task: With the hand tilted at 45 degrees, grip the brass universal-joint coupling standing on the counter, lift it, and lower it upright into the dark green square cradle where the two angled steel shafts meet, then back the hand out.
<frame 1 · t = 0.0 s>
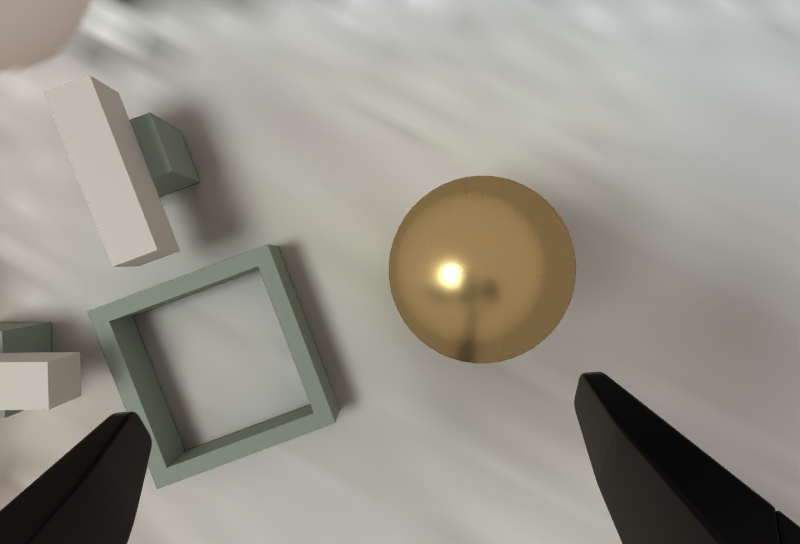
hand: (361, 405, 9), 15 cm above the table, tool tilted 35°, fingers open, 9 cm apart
shaft bench: (227, 358, 24), on the table
coupling: (438, 264, 24), on the table
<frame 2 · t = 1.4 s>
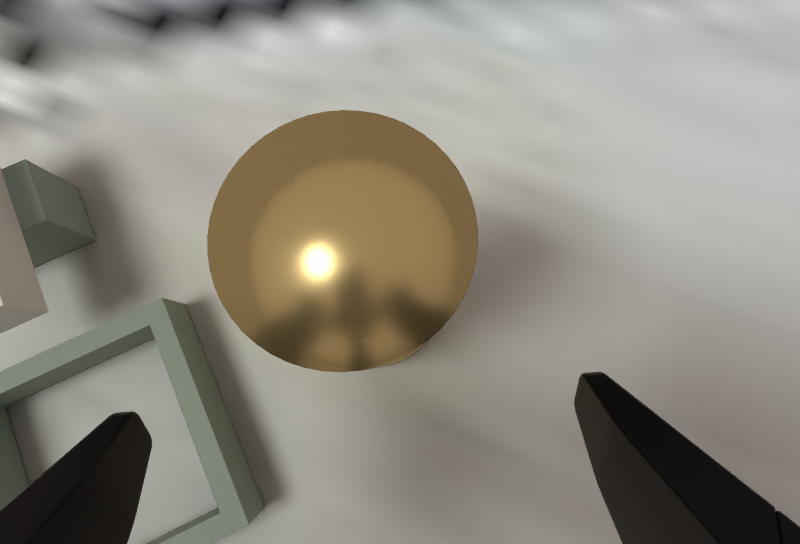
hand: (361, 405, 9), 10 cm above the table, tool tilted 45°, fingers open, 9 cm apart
shaft bench: (119, 451, 19), on the table
coupling: (377, 308, 20), on the table
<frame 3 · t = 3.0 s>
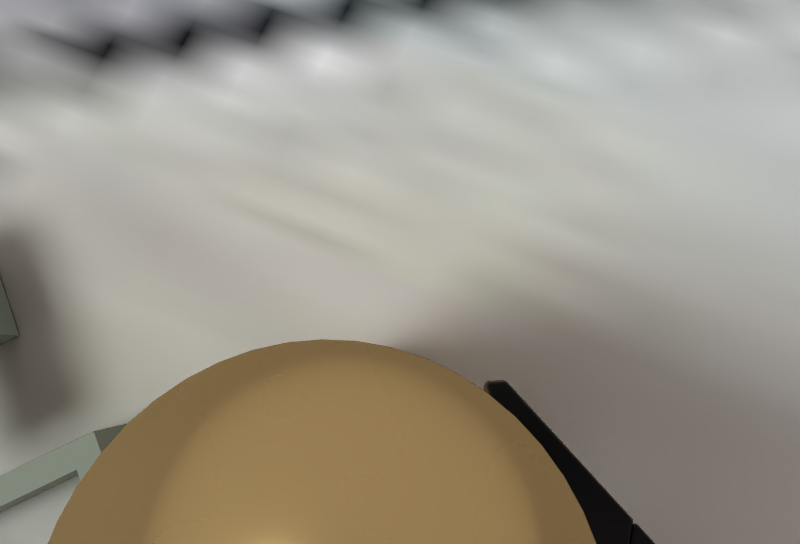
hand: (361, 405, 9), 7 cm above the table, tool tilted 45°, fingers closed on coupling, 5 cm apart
coupling: (381, 428, 16), on the table, touching gripper
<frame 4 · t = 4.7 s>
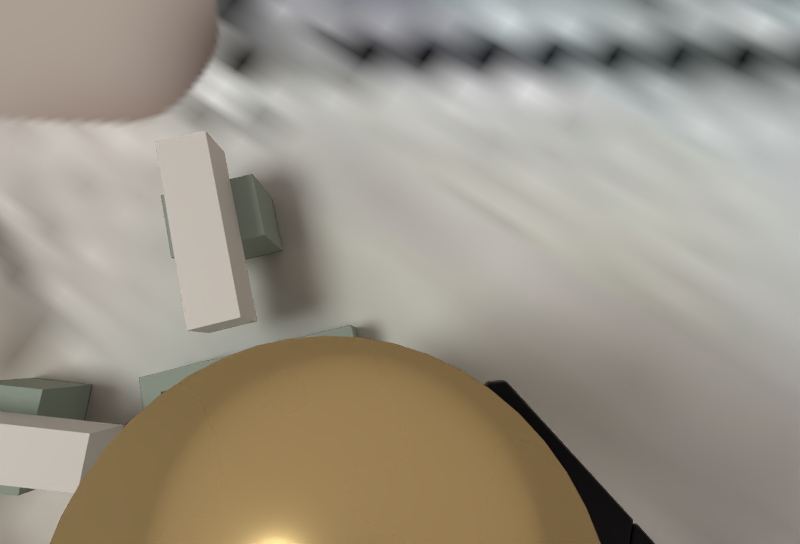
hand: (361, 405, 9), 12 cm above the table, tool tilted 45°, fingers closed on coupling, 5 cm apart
shaft bench: (279, 451, 21), on the table
coupling: (382, 426, 16), point 6 cm above the table, touching gripper
when the fingers open (7 cm above the table, at t = 6.7 s): coupling stays where it is, resting in shaft bench.
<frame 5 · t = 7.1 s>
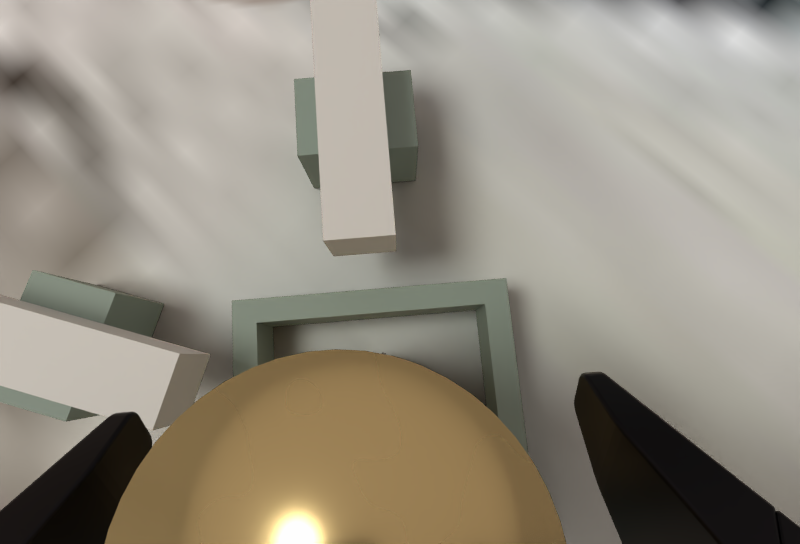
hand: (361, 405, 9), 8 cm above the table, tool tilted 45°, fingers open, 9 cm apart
shaft bench: (382, 423, 17), on the table
coupling: (382, 426, 17), resting in shaft bench
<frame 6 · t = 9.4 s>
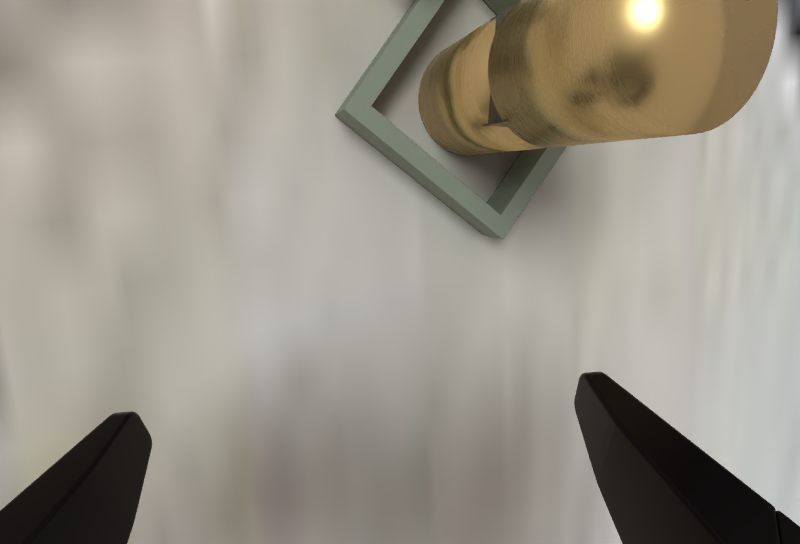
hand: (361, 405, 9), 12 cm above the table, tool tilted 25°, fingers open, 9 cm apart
shaft bench: (469, 99, 22), on the table
coupling: (468, 100, 22), resting in shaft bench
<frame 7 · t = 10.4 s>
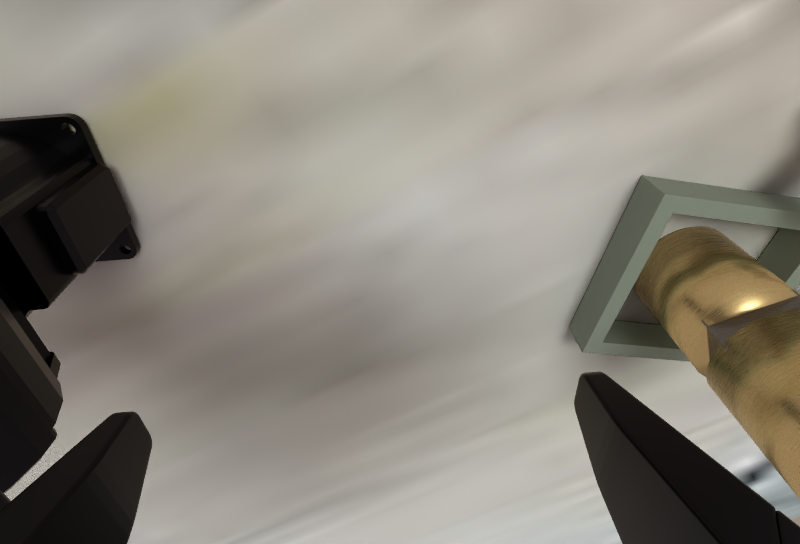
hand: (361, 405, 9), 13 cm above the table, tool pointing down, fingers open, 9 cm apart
shaft bench: (682, 268, 24), on the table
coupling: (680, 268, 24), resting in shaft bench
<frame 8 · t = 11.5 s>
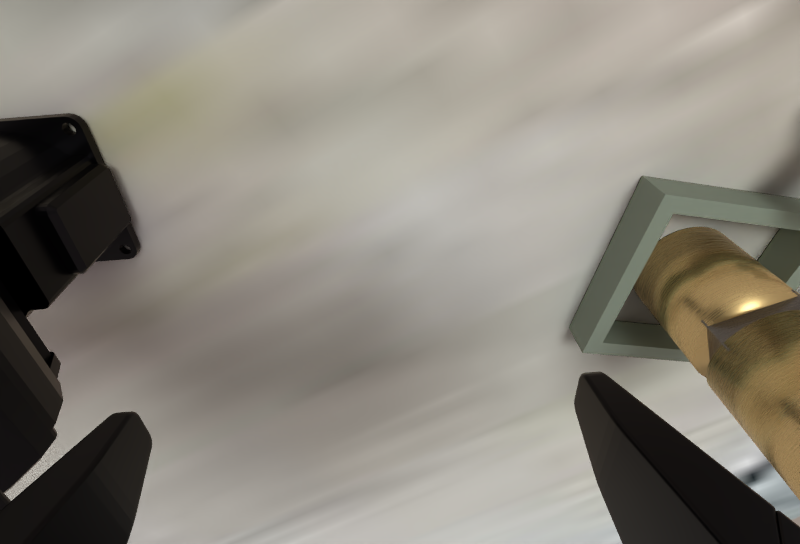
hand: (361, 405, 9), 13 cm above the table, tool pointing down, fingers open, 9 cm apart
shaft bench: (682, 269, 24), on the table
coupling: (681, 268, 24), resting in shaft bench
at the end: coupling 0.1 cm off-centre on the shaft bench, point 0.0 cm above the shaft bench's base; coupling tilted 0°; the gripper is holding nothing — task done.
